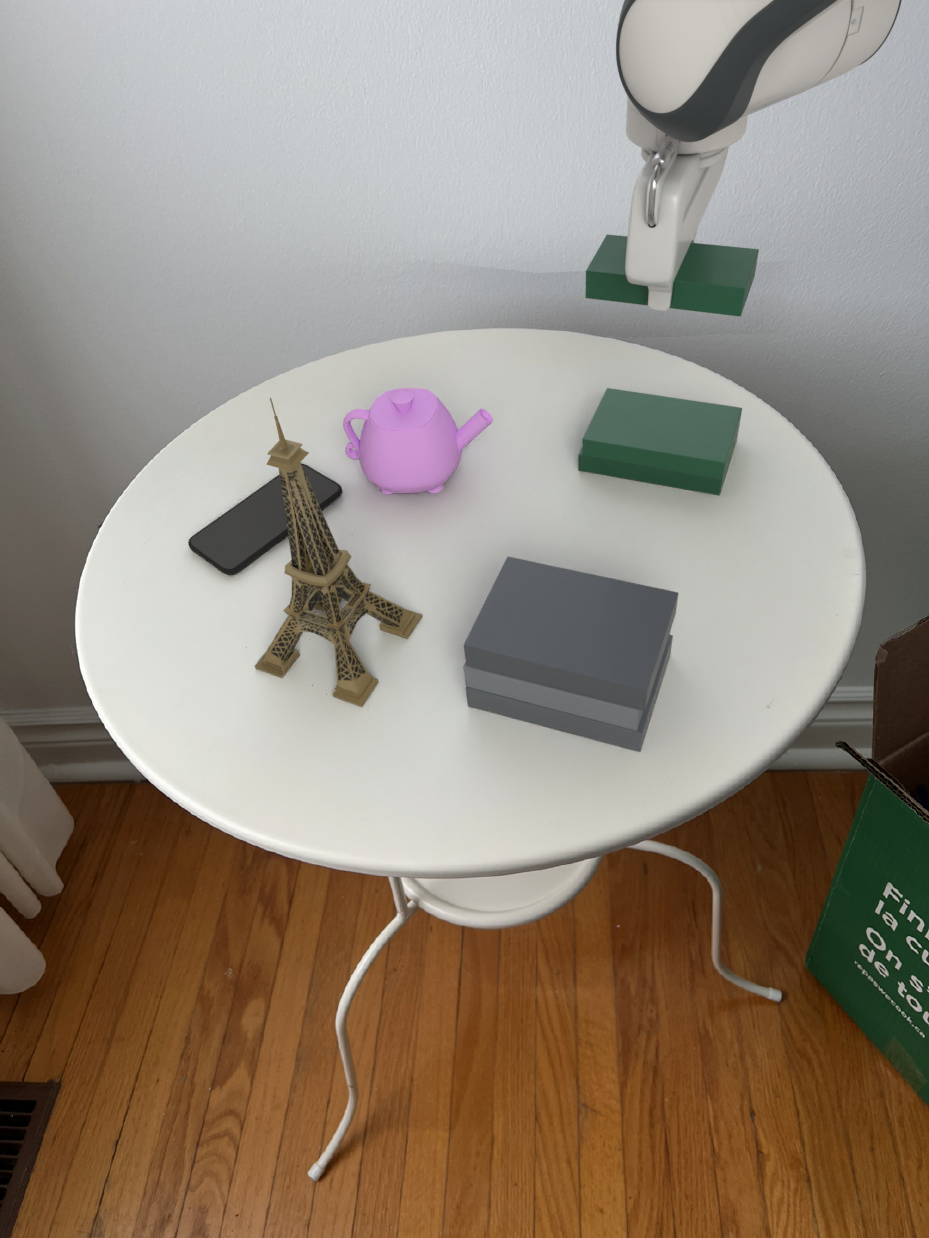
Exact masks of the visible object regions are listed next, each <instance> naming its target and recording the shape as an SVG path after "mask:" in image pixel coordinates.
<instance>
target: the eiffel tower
mask: <svg viewBox="0 0 929 1238" xmlns="http://www.w3.org/2000/svg"><path fill="white" fill-rule="evenodd" d="M269 401H270V404H271V408H272V412H273V415H274V416H273V418H274V421H275V426H276V431H277V435H278V441H277V442H276V443H275V444H274V446H273V447H271V449H270V450H269V451H268V452H267V455H268V456H270V457H269V458H268V461H267V462H266V465H267V466H270V467H274V468H277V469H278V475H279V474H280V481H281V487H282V494H283V500H284V507H285V513H286V521H287V529H288V536H287V537H288V544H289V551H290V559H291V560H289V562H287V563H286V564H284V574H285V575H287V576H289V577H291V596H290V601H289V604H288V605H287V606H286V607H285V608H284V609H283V610H282V612H284V613H285V614H286V615H287V617H286V618H285V620H284V621H283V623H282V625H281V627H280V628H279V629H278V631H277V633H276V634H275V636H274V638H273V640H272V642H271V643H270V645H269V647H268V648H267V649H266V651H265V652H264V654H263V655H262V656H261V657H260V658H259V660H258V661H257V663H256V664H255V665H254V668H255V669H256V670H258V671H261V672H264V673H266V674H269V675H272V676H275V677H277V678H280V679H283V678H284V677H285V676H286V674H287V673H288V672H289V670H290V669H291V667H292V666H293V665H294V664H295V662H296V661H297V660H298V658H299V657H300V656H301V653H300V651H299V649H296V646H297V645H298V643H299V641H300V639H301V637H302V636H303V633H312V634H315V635H317V636H319V637H321V638H323V639H325V640H326V641H327V642H329V643H330V644H332V645H334V656H335V657H334V658H335V672H336V685H335V687H334V692H333V693H332V696H333V698H335V699H338V700H341V701H344V702H347V703H349V704H352V705H355V706H358V707H361V708H363V707H364V706H365V704H366V702H367V701H368V699H369V698H370V696H371V695H372V693H373V692H374V690H375V689H376V688H377V686H378V684H379V679H377V678H374V675H371V674H369V671H368V670H367V668H366V667H365V665H364V663H363V662H362V660H361V658H360V657H359V655H358V653H357V651H356V649H355V648H354V646H353V645H352V643H351V642H350V640H351V638H352V635H353V632H354V630H355V628H356V626H357V624H358V622H359V621H360V620H361V618H362V617H363V616H365V615H366V614H367V615H369V616H370V617H372V618H374V619H375V620H377V621H379V624H378V627H379V630H380V631H382V632H385V633H388V634H390V635H395V636H396V637H397V636H398V637H400V638H403V639H407V640H408V639H409V638H410V636H411V635H412V633H413V632H414V631H415V629H416V627H417V626H418V624H419V623H420V621H422V619H423V614H422V613H419V612H416V611H413V610H409V609H406V608H404V607H403V606H401V605H399V604H396V603H395V602H393V601H391V600H388V599H386V598H385V597H383V596H380V595H378V594H376V593H374V592H372V591H370V589H371V586H372V583H368V582H364V581H361V579H359V578H358V577H357V576H356V574H355V573H354V571H353V570H352V569H351V567H350V566H349V562H350V560H351V559H352V554H350V553H349V551H348V550H347V549H346V550H345V549H341V548H339V546H338V544H337V542H336V540H335V538H334V535H333V533H332V531H331V528H330V527H329V524H328V522H327V520H326V517H325V515H324V513H323V510H322V511H321V509H320V506H319V504H318V502H317V499H316V497H315V495H314V492H313V490H312V488H311V485H310V483H309V481H308V478H307V476H306V474H305V471H304V469H303V467H302V464H303V463H302V462H303V460H304V459H305V458H306V457H307V455H308V454H310V452H309V451H306V450H304V449H303V448H302V447H303V443H301V442H297V441H293V440H289V439H286V438H285V435H284V433H283V432H284V431H283V429H282V426H281V424H280V421H279V417H278V415H277V413H276V410H275V406H274V403H273V400H272V397H269ZM301 463H302V464H301ZM342 600H344V601H346V602H345V604H344V605H343V606H342V608H341V606H340V602H341V601H342ZM314 609H315V610H317V611H320V612H323V613H325V614H322V613H321V614H320V613H317V612H315V611H314Z"/></svg>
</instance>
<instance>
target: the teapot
mask: <svg viewBox="0 0 929 1238" xmlns="http://www.w3.org/2000/svg"><path fill="white" fill-rule="evenodd" d="M354 420H364V422H363V425H362V429H361V432H360V437H359V436H358V435H357V434H356V431H355V430H354V428H353V426H352V424H351V421H354ZM492 423H494V418H493V415H491V413H490V412H489V411H488V410H487V409H485V408H480V409H478V410H477V411H476V412H475V413H474V414H473V415H472V416H471V417H470V418H469V419H468V420H467V421H466V422H465V423H464V424H463V425H461V427H460V428H458V426H457V424H456V422H455V419H454V418H453V416H452V414H451V412H450V411H449V410H448V408H447V407H446V406H445V404H444V403H443V401H442V400H440V398H439V397H438V396H437V395H436V394H435V393H433V392H432V391H431V390H428V389H425V388H420V387H402V388H394V389H390V390H387V391H384V392H383V393H381V394H380V395H379V396H377V398H375V400H374V401H373V402H372V404H371V406H370V408H369V410H368V409H365V408H355V409H353V410H350V411H349V412H348V413H346V415H345V416H344V417H343V421H342V428H343V430H344V433H345V435H346V437H347V439H348V440H349V442H348V443H347V444H346V446H345V450H344V451H345V455H346V457H348V459H351V460H354V461H359V463H360V467H361V470H362V472H363V474H364V476H365V478H366V479H367V480H368V481H369V482H370V483H371V484H373V485H375V486H376V487H377V488H379V489H380V493H382V494H384V495H393V494H395V493H398V494H415V493H416V494H417V493H422V492H427V493H429V494H437V493H440V492H442V491H443V490H444V487H445V485H444V484H445V483H446V482H447V481H448V480H449V478H451V476H453V474H454V472H455V470H456V469H457V468H458V465H459V464H460V461H461V458H462V454H463V450H464V449H465V448H466V447H467V446H468V445H469V444H470V443H472V441H474V440H475V438H477V437H478V436H479V435H480V434H481V433H482V432H484V430H486V429H487V428H488V427H489V426H490V425H491V424H492Z"/></svg>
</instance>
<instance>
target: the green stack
mask: <svg viewBox="0 0 929 1238" xmlns="http://www.w3.org/2000/svg"><path fill="white" fill-rule="evenodd" d="M742 412H743V407H739V406H732V405H726V404H720V403H719V404H718V403H713V402H705V401H698V400H691V399H686V398H677V397H672V396H671V397H670V396H665V395H658V394H651V393H646V392H645V393H643V392H637V391H631V390H624V389H619V388H618V389H617V388H611V387H607V388H606V389H605V391H604V393H603V395H602V398H601V399H600V402H599V404H598V405H597V407H596V410H595V412H594V414H593V416H592V418H591V421H590V423H589V425H588V426H587V428H586V431H585V432H584V435H583V437H582V442H581V445H582V446H581V448H580V451H579V453H578V456H577V457H578V458H577V459H578V461H577V467H578V468H577V470H578V471H580V472H585V473H589V474H590V473H591V474H596V475H602V476H607V477H612V478H613V477H614V478H618V479H624V480H631V481H635V482H641V483H647V484H651V485H658V486H663V487H664V486H665V487H669V488H674V489H675V488H676V489H681V490H687V491H693V492H697V493H705V494H710V495H715V496H720V495H721V493H722V490H723V486H724V483H725V480H726V477H727V475H728V474H727V473H728V471H729V467H730V464H731V461H732V458H733V454H734V451H735V449H736V448H735V447H736V444H737V441H738V436H739V431H740V424H741V418H742Z"/></svg>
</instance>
